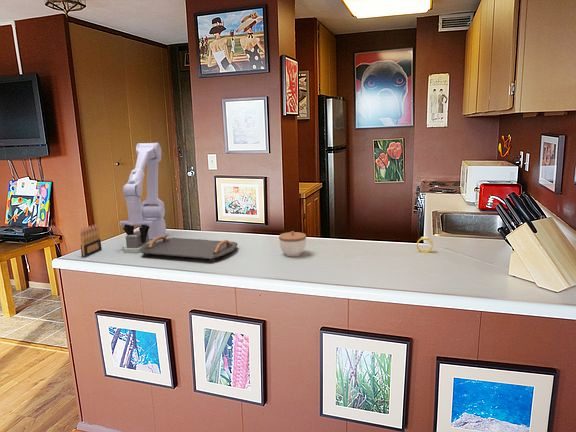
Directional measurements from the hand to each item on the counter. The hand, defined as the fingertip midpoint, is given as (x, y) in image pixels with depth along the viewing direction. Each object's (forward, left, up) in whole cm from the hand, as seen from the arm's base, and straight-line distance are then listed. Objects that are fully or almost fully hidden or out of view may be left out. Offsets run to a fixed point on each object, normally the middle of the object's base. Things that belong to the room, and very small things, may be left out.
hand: (138, 242), depth 196 cm
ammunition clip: (+9, -17, -3) cm, 19 cm away
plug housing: (0, 0, -1) cm, 1 cm away
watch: (-6, +119, -3) cm, 120 cm away
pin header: (0, 0, -3) cm, 3 cm away
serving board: (+3, +25, -3) cm, 26 cm away
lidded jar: (+2, +68, -3) cm, 69 cm away
